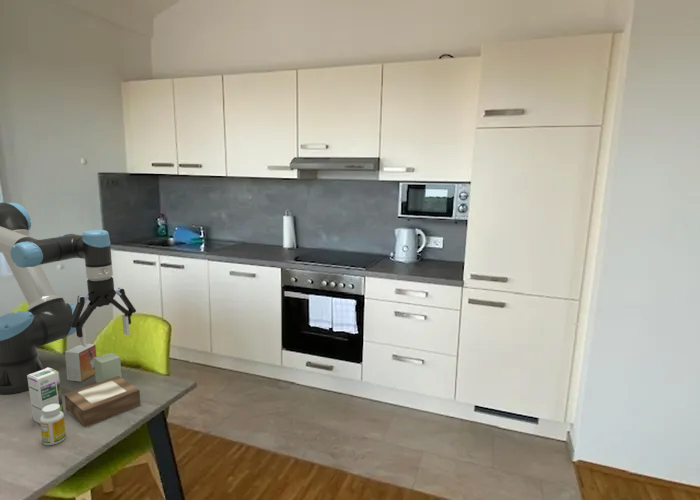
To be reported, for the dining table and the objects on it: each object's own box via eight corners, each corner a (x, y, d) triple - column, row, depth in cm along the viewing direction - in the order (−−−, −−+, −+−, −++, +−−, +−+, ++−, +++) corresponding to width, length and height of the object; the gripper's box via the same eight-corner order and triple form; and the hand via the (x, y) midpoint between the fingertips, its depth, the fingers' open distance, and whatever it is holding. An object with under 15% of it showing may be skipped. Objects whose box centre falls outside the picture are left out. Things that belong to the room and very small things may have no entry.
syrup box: (43, 426, 129) (38, 379, 127) (32, 420, 132) (26, 373, 129) (64, 417, 134) (59, 371, 132) (53, 411, 137) (47, 366, 134)
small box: (81, 382, 155) (78, 353, 153) (67, 380, 156) (64, 351, 154) (98, 372, 163) (96, 344, 160) (84, 370, 164) (82, 342, 162)
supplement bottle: (40, 447, 120) (36, 414, 118) (45, 436, 125) (41, 404, 123) (64, 443, 122) (60, 410, 120) (67, 432, 127) (64, 400, 125)
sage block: (95, 382, 155) (93, 357, 153) (114, 376, 160) (112, 352, 158) (103, 388, 151) (101, 363, 150) (122, 382, 156) (120, 357, 154)
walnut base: (65, 409, 138) (64, 393, 137) (119, 389, 150) (118, 375, 149) (84, 427, 130) (83, 410, 129) (140, 404, 142) (139, 389, 141)
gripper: (61, 287, 136) (69, 354, 140) (143, 272, 155) (147, 332, 159) (52, 283, 141) (59, 348, 145) (132, 269, 160) (137, 327, 164)
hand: (106, 339), depth 152 cm, fingers open, 13 cm apart
